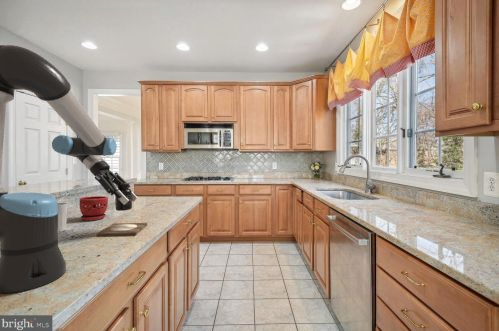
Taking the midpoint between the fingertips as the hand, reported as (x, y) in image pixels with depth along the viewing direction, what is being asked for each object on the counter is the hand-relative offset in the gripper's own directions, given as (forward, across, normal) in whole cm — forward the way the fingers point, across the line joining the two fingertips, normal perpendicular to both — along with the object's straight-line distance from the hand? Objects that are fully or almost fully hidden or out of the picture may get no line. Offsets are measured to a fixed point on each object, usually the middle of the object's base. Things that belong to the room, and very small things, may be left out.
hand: (131, 201), depth 110 cm
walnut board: (+7, 0, -12) cm, 14 cm away
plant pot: (-13, -19, -33) cm, 40 cm away
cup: (-15, +2, -34) cm, 37 cm away
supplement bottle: (0, 0, -6) cm, 6 cm away
